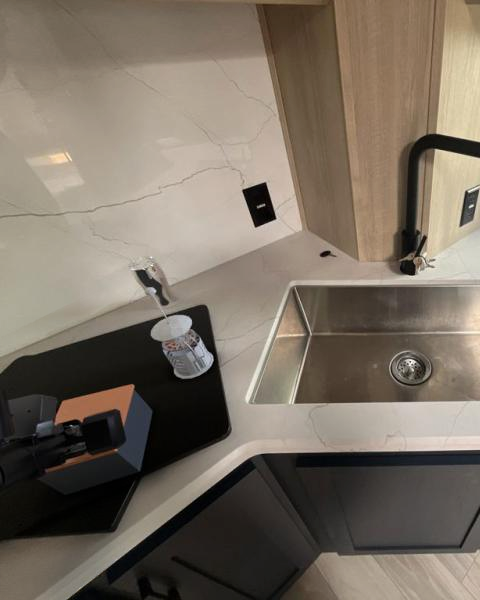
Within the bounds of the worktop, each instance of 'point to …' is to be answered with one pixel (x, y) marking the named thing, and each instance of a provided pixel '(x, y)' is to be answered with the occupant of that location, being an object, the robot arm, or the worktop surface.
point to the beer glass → (153, 280)
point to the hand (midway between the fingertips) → (83, 430)
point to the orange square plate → (90, 406)
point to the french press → (181, 344)
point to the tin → (110, 464)
